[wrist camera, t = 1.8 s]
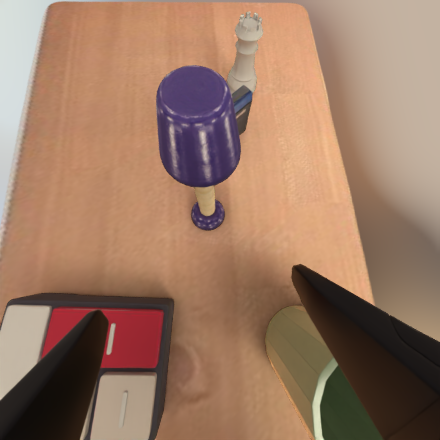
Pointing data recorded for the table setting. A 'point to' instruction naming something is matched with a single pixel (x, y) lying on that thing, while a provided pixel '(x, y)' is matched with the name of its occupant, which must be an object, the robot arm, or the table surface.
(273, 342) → the pencil cup
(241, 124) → the mini dv tape
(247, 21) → the rook chess piece
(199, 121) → the toy lamp
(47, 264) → the table surface
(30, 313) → the calculator
